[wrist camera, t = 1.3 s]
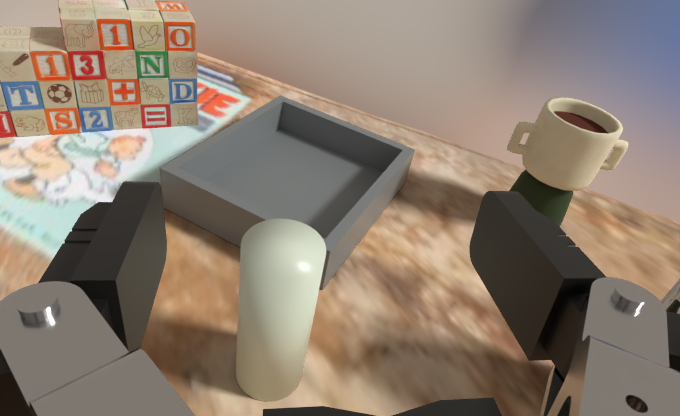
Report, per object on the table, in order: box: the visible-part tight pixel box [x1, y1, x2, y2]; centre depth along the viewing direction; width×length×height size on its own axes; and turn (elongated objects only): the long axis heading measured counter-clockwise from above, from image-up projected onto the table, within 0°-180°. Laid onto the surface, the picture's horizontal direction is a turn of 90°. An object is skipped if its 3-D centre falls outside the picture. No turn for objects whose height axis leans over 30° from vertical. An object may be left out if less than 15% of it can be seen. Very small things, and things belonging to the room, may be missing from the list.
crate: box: [160, 96, 415, 290], centre depth 48 cm, size 17×19×4 cm
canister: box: [235, 219, 326, 401], centre depth 30 cm, size 5×5×12 cm
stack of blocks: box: [0, 0, 198, 137], centre depth 50 cm, size 21×6×12 cm, turn 114°
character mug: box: [507, 97, 628, 227], centre depth 48 cm, size 11×7×13 cm, turn 85°
